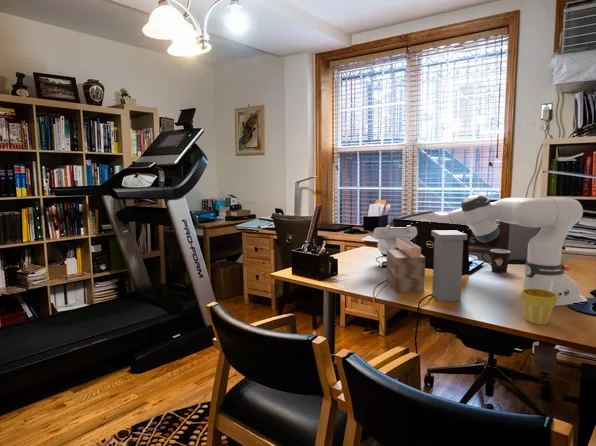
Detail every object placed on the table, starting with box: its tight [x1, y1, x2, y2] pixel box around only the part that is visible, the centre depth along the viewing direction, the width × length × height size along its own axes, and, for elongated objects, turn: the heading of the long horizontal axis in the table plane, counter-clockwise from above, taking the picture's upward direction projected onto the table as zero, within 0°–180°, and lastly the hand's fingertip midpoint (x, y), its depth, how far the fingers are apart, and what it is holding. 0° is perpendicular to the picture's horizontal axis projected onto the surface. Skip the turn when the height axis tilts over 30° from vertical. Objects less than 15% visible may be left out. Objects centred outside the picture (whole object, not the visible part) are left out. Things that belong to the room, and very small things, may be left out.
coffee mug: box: [481, 248, 511, 274], centre depth 201 cm, size 12×9×10 cm
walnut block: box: [385, 250, 426, 293], centre depth 178 cm, size 12×15×14 cm
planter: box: [396, 238, 422, 258], centre depth 179 cm, size 4×22×4 cm, turn 2°
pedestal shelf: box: [430, 229, 468, 302], centre depth 162 cm, size 10×10×26 cm
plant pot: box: [520, 288, 557, 325], centre depth 139 cm, size 10×10×10 cm
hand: (399, 226), depth 192 cm, fingers open, 8 cm apart
